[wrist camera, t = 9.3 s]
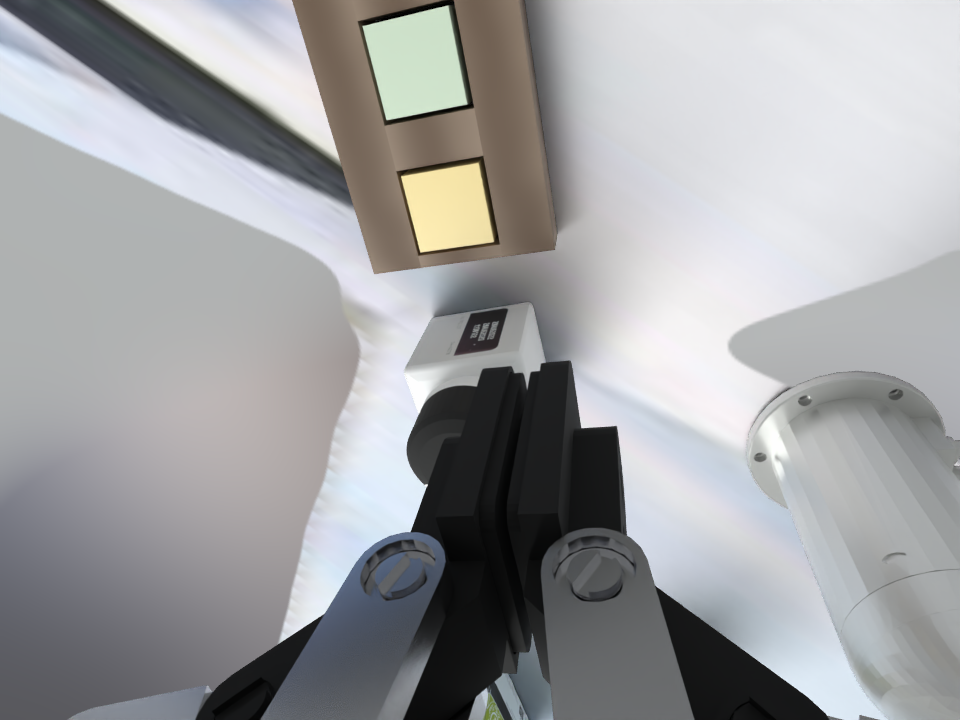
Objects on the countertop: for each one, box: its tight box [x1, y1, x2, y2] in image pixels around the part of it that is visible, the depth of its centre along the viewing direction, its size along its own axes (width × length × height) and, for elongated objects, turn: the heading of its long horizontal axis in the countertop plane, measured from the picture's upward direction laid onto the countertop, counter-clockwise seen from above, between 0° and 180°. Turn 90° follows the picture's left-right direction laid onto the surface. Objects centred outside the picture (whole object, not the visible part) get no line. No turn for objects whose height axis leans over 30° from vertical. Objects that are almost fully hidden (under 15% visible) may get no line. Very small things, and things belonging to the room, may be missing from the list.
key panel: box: [292, 0, 557, 274], centre depth 34 cm, size 12×23×3 cm, turn 11°
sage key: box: [363, 5, 473, 120], centre depth 34 cm, size 5×5×3 cm
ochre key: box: [401, 156, 498, 252], centre depth 38 cm, size 5×5×3 cm
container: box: [404, 302, 546, 487], centre depth 39 cm, size 8×8×13 cm
